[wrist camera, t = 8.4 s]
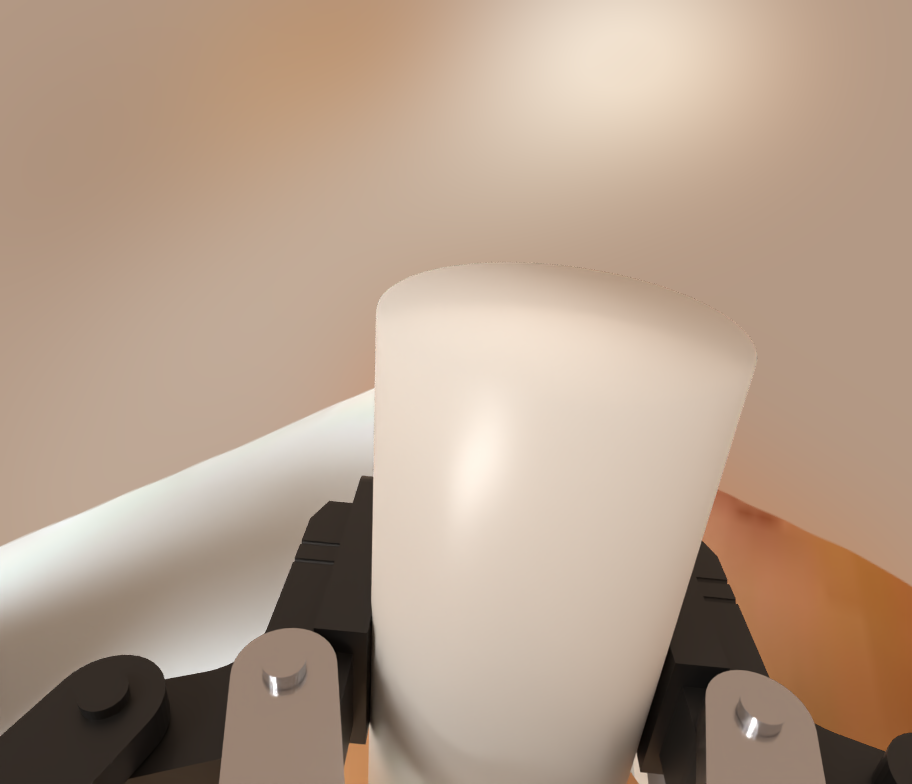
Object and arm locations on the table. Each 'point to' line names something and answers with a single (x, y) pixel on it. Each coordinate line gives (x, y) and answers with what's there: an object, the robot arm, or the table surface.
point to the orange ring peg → (535, 515)
